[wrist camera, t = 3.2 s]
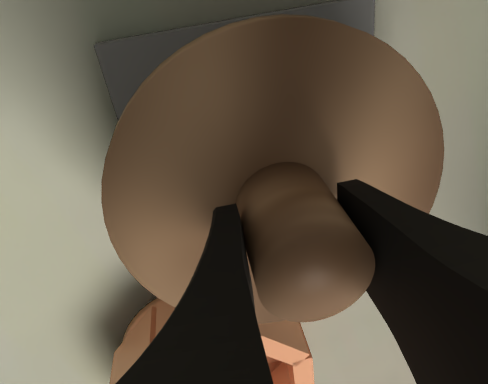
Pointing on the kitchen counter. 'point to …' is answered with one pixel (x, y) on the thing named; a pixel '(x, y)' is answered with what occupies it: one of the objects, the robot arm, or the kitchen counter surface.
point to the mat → (168, 42)
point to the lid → (269, 158)
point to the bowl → (273, 337)
